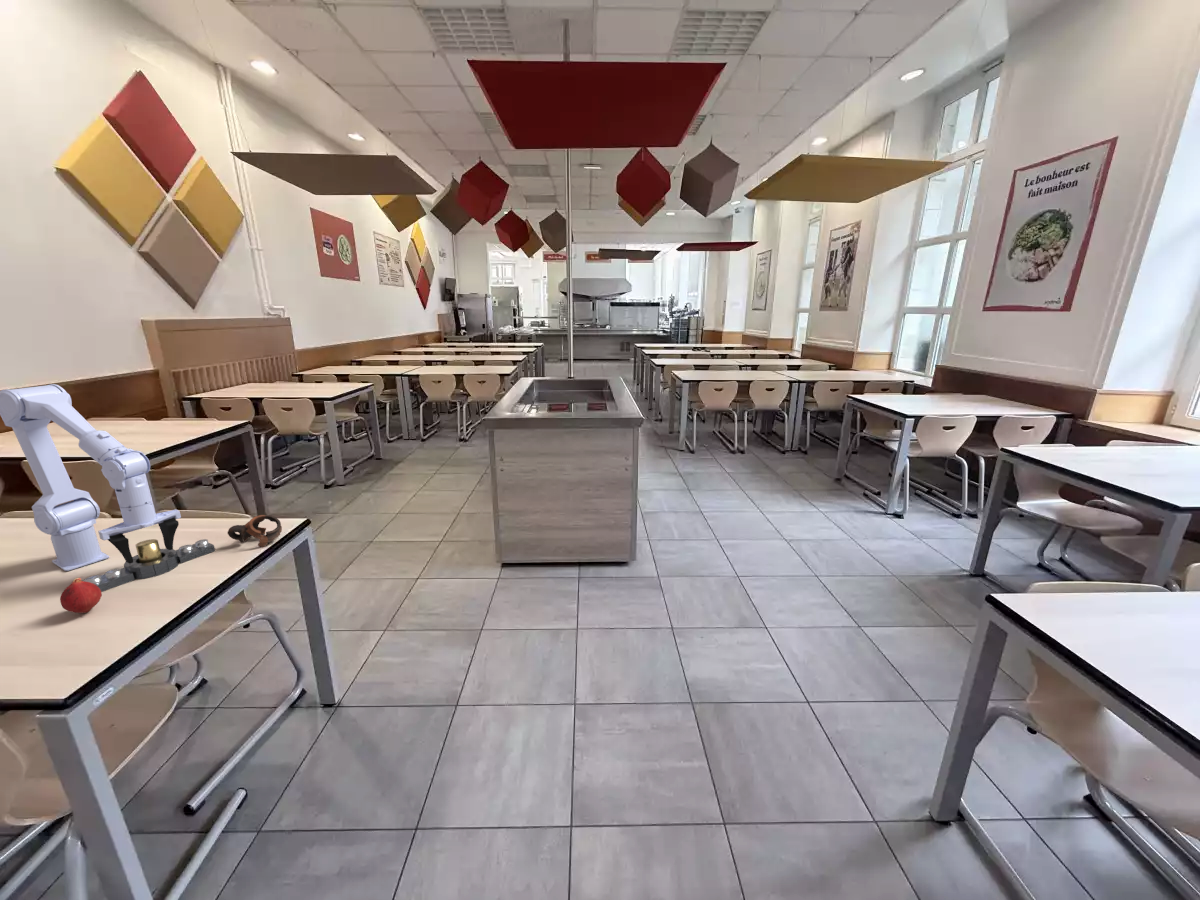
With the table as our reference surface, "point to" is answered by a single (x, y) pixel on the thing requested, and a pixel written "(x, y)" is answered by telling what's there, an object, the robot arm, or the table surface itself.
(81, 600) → the onion
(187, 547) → the studded flange bracket
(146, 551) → the pin
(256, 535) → the rusty ring shackle
